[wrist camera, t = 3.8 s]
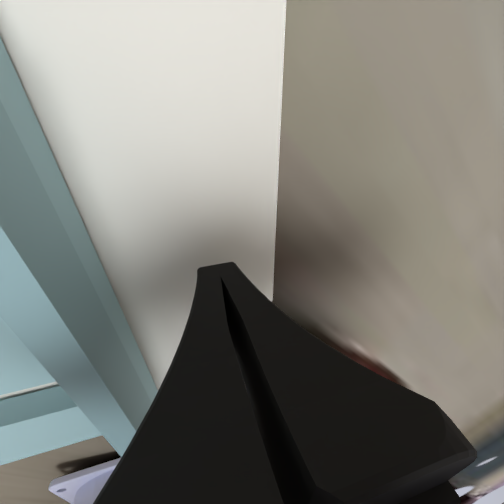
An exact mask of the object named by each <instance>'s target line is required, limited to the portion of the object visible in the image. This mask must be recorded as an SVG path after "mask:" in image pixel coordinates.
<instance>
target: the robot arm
mask: <svg viewBox="0 0 504 504" xmlns="http://www.w3.org/2000/svg"><path fill="white" fill-rule="evenodd" d="M245 386H246V387H245ZM476 458H477V451H476V450H475V449H474V447H473V446H472V445H471V444H470V442H469V441H468V440H467V439H466V437H465V436H464V435H463V434H462V433H461V431H460V430H459V429H458V428H457V426H456V425H455V424H454V423H453V421H452V420H451V419H450V418H449V417H448V416H447V415H446V414H445V413H444V412H443V411H442V409H441V408H440V407H439V406H438V405H437V404H436V403H435V402H434V401H432V400H430V399H428V398H426V397H424V396H422V395H419V394H417V393H415V392H413V391H411V390H409V389H407V388H405V387H403V386H401V385H399V384H396V383H394V382H392V381H390V380H388V379H386V378H384V377H382V376H380V375H378V374H377V373H375V372H373V371H371V370H369V369H367V368H366V367H364V366H362V365H360V364H358V363H357V362H355V361H353V360H352V359H350V358H348V357H347V356H345V355H343V354H342V353H340V352H338V351H337V350H335V349H334V348H332V347H330V346H329V345H327V344H325V343H324V342H322V341H321V340H320V339H318V338H317V337H315V336H314V335H312V334H311V333H309V332H308V331H307V330H305V329H304V328H303V327H301V326H300V325H299V324H297V323H296V322H295V321H293V320H292V319H291V318H290V317H288V316H287V315H286V314H285V313H284V312H282V311H281V310H280V309H279V308H278V307H277V306H275V305H274V304H273V303H272V302H271V301H270V300H269V299H268V298H267V297H266V296H265V295H264V294H263V293H262V292H261V291H260V290H259V289H258V288H257V287H256V286H255V285H254V284H253V283H252V282H251V281H250V280H249V279H248V278H247V277H246V276H245V274H244V273H243V272H242V271H241V270H240V268H239V267H238V266H237V265H236V263H234V262H227V263H221V264H216V265H210V266H204V267H200V268H199V269H198V270H197V283H196V289H195V294H194V298H193V302H192V306H191V310H190V314H189V317H188V320H187V323H186V326H185V329H184V332H183V335H182V338H181V341H180V343H179V346H178V348H177V351H176V353H175V356H174V358H173V360H172V363H171V365H170V367H169V369H168V371H167V373H166V376H165V378H164V380H163V382H162V384H161V386H160V388H159V390H158V392H157V394H156V396H155V398H154V400H153V402H152V404H151V406H150V408H149V410H148V411H147V413H146V415H145V417H144V419H143V420H142V422H141V424H140V426H139V428H138V429H137V431H136V433H135V435H134V437H133V438H132V440H131V442H130V444H129V446H128V447H127V449H126V451H125V452H124V454H123V456H122V457H121V458H118V459H115V460H111V461H108V462H105V463H102V464H99V465H96V466H93V467H89V468H86V469H83V470H80V471H77V472H74V473H71V474H67V475H64V476H61V477H58V478H55V479H53V480H52V481H51V482H50V485H49V488H48V489H49V491H51V492H52V493H54V494H56V495H57V496H59V497H61V498H62V499H64V500H66V501H67V502H69V503H71V504H459V503H461V500H460V497H459V496H458V494H457V493H456V491H455V490H454V489H453V487H452V486H451V484H450V483H449V481H448V480H449V479H450V478H452V477H453V476H455V475H456V474H457V473H459V472H460V471H462V470H463V469H464V468H466V467H467V466H469V465H470V464H471V463H472V462H474V461H475V459H476ZM502 504H504V503H502Z"/></svg>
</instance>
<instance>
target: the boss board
mask: <svg viewBox="0 0 504 504" xmlns="http://www.w3.org/2000/svg"><path fill="white" fill-rule="evenodd" d="M285 19H286V0H0V37H1V40H2V42H3V44H4V46H5V49H6V51H7V53H8V55H9V58H10V60H11V62H12V64H13V67H14V69H15V71H16V73H17V76H18V78H19V80H20V82H21V85H22V87H23V89H24V91H25V94H26V96H27V98H28V100H29V102H30V105H31V107H32V109H33V111H34V114H35V116H36V118H37V120H38V123H39V125H40V127H41V129H42V132H43V134H44V136H45V138H46V141H47V143H48V145H49V147H50V150H51V152H52V154H53V156H54V159H55V161H56V163H57V165H58V168H59V170H60V172H61V174H62V177H63V179H64V181H65V183H66V186H67V188H68V190H69V192H70V195H71V197H72V199H73V201H74V204H75V206H76V208H77V210H78V212H79V215H80V217H81V219H82V221H83V224H84V226H85V228H86V230H87V233H88V235H89V237H90V239H91V242H92V244H93V246H94V248H95V251H96V253H97V255H98V257H99V260H100V262H101V264H102V266H103V269H104V271H105V273H106V275H107V278H108V280H109V282H110V284H111V287H112V289H113V291H114V293H115V296H116V298H117V300H118V302H119V305H120V307H121V309H122V311H123V314H124V316H125V318H126V320H127V322H128V325H129V327H130V329H131V331H132V334H133V336H134V338H135V340H136V343H137V345H138V347H139V349H140V352H141V354H142V356H143V358H144V361H145V363H146V365H147V367H148V370H149V372H150V374H151V376H152V379H153V381H154V383H155V385H156V388H157V390H159V388H160V386H161V384H162V382H163V380H164V378H165V376H166V373H167V371H168V369H169V367H170V365H171V363H172V360H173V358H174V356H175V353H176V351H177V348H178V346H179V343H180V341H181V338H182V335H183V332H184V329H185V326H186V323H187V320H188V317H189V314H190V310H191V306H192V302H193V298H194V294H195V289H196V283H197V270H198V269H199V268H200V267H204V266H210V265H216V264H221V263H227V262H234V263H236V265H237V266H238V267H239V268H240V270H241V271H242V272H243V273H244V274H245V276H246V277H247V278H248V279H249V280H250V281H251V282H252V283H253V284H254V285H255V286H256V287H257V288H258V289H259V290H260V291H261V292H262V293H263V294H264V295H265V296H266V297H267V298H268V299H269V300H270V301H271V302H272V300H273V281H274V259H275V237H276V215H277V193H278V172H279V150H280V128H281V106H282V84H283V63H284V41H285ZM57 386H60V385H59V384H58V383H57V382H52V383H48V384H44V385H40V386H36V387H32V388H28V389H23V390H19V391H15V392H11V393H7V394H3V395H0V401H1V400H5V399H9V398H13V397H17V396H21V395H25V394H29V393H33V392H37V391H41V390H45V389H49V388H53V387H57Z"/></svg>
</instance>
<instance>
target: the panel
mask: <svg viewBox="0 0 504 504" xmlns="http://www.w3.org/2000/svg"><path fill="white" fill-rule="evenodd" d="M52 382H57V383H58V384H59V385H60V386H57V387H53V388H49V389H45V390H41V391H37V392H33V393H29V394H25V395H21V396H17V397H13V398H9V399H5V400H1V401H0V465H3V464H7V463H10V462H13V461H17V460H20V459H23V458H27V457H30V456H34V455H37V454H40V453H44V452H47V451H50V450H54V449H57V448H61V447H64V446H67V445H71V444H74V443H77V442H81V441H84V440H87V439H91V438H94V437H98V436H101V435H103V436H104V437H105V439H106V440H107V441H108V442H109V443H110V444H111V446H112V447H113V448H114V449H115V450H116V451H117V453H118V454H119V455H120V456H121V457H122V456H123V454H124V452H125V451H126V449H127V447H128V446H129V444H130V442H131V440H132V438H133V437H134V435H135V433H136V431H137V429H138V428H139V426H140V424H141V422H142V420H143V419H144V417H145V415H146V413H147V411H148V410H149V408H150V406H151V404H152V402H153V400H154V398H155V396H156V394H157V392H158V390H157V388H156V385H155V383H154V381H153V379H152V376H151V374H150V372H149V370H148V367H147V365H146V363H145V361H144V358H143V356H142V354H141V352H140V349H139V347H138V345H137V343H136V340H135V338H134V336H133V334H132V331H131V329H130V327H129V325H128V322H127V320H126V318H125V316H124V314H123V311H122V309H121V307H120V305H119V302H118V300H117V298H116V296H115V293H114V291H113V289H112V287H111V284H110V282H109V280H108V278H107V275H106V273H105V271H104V269H103V266H102V264H101V262H100V260H99V257H98V255H97V253H96V251H95V248H94V246H93V244H92V242H91V239H90V237H89V235H88V233H87V230H86V228H85V226H84V224H83V221H82V219H81V217H80V215H79V212H78V210H77V208H76V206H75V204H74V201H73V199H72V197H71V195H70V192H69V190H68V188H67V186H66V183H65V181H64V179H63V177H62V174H61V172H60V170H59V168H58V165H57V163H56V161H55V159H54V156H53V154H52V152H51V150H50V147H49V145H48V143H47V141H46V138H45V136H44V134H43V132H42V129H41V127H40V125H39V123H38V120H37V118H36V116H35V114H34V111H33V109H32V107H31V105H30V102H29V100H28V98H27V96H26V94H25V91H24V89H23V87H22V85H21V82H20V80H19V78H18V76H17V73H16V71H15V69H14V67H13V64H12V62H11V60H10V58H9V55H8V53H7V51H6V49H5V46H4V44H3V42H2V40H1V37H0V395H3V394H7V393H11V392H15V391H19V390H23V389H28V388H32V387H36V386H40V385H44V384H48V383H52Z"/></svg>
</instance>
